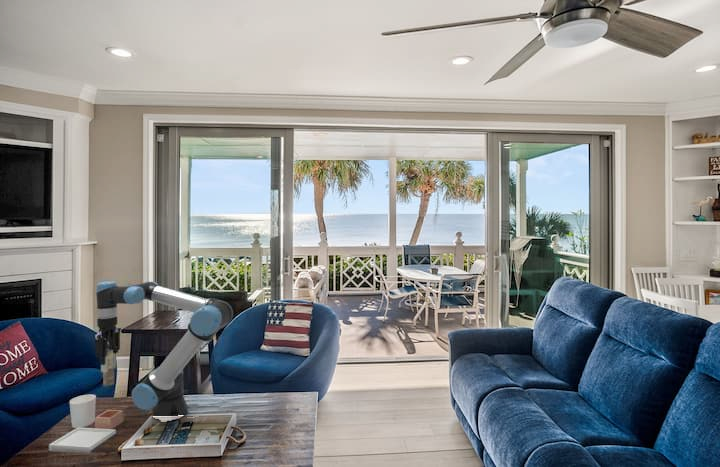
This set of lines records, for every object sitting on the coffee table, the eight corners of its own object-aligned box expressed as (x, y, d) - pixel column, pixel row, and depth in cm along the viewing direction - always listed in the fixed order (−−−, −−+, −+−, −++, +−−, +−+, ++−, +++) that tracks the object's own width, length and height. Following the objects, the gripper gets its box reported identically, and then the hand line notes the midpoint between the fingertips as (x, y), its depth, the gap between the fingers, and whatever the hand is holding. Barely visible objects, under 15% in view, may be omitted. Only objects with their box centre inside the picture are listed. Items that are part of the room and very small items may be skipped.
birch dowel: (116, 382, 180) (115, 349, 179) (109, 386, 176) (108, 352, 175) (108, 382, 180) (107, 349, 180) (101, 385, 176) (100, 351, 176)
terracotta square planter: (123, 423, 181) (123, 410, 181) (111, 432, 174) (110, 418, 174) (108, 422, 182) (108, 409, 182) (95, 431, 175) (94, 417, 175)
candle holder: (83, 431, 175) (82, 404, 174) (64, 429, 177) (63, 402, 176) (101, 421, 184) (101, 395, 184) (83, 419, 186) (83, 393, 186)
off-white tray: (116, 435, 171) (116, 429, 171) (89, 453, 157) (89, 447, 157) (78, 433, 173) (78, 427, 173) (49, 450, 160) (48, 444, 160)
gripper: (113, 312, 186) (115, 363, 187) (84, 321, 170) (85, 376, 170) (128, 313, 185) (129, 363, 186) (100, 321, 169) (101, 376, 169)
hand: (108, 369), depth 178 cm, fingers closed on birch dowel, 4 cm apart
